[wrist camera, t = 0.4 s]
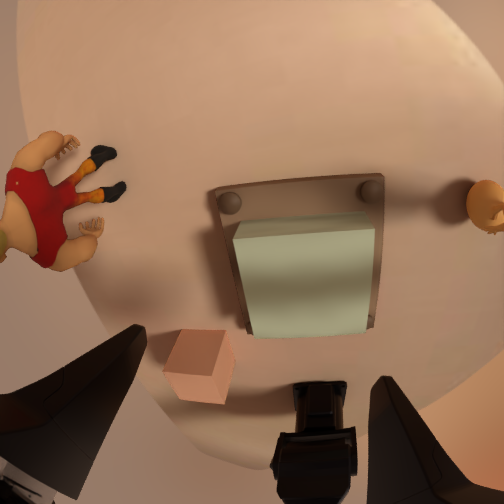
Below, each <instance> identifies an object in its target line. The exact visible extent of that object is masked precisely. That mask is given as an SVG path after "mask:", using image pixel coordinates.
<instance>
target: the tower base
mask: <svg viewBox="0 0 504 504" xmlns="http://www.w3.org/2000/svg"><path fill="white" fill-rule="evenodd" d="M215 194H216V199H217V204H218V209H219V213H220V218H221V222H222V227H223V231H224V236H225V240H226V245H227V249H228V254H229V258H230V263H231V267H232V271H233V276H234V280H235V284H236V289H237V293H238V297H239V301H240V306H241V310H242V314H243V318H244V322H245V326H246V331H247V334H252V335H254V339H271V338H302V337H321V336H337V335H349V334H361V333H366V330H367V329H369V328H373V327H374V321H375V314H376V307H377V300H378V291H379V283H380V273H381V262H382V248H383V231H384V176H383V175H382V174H381V173H371V174H349V175H332V176H318V177H305V178H293V179H283V180H273V181H263V182H254V183H246V184H238V185H230V186H222V187H218V188H217V189H216V190H215Z"/></svg>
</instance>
